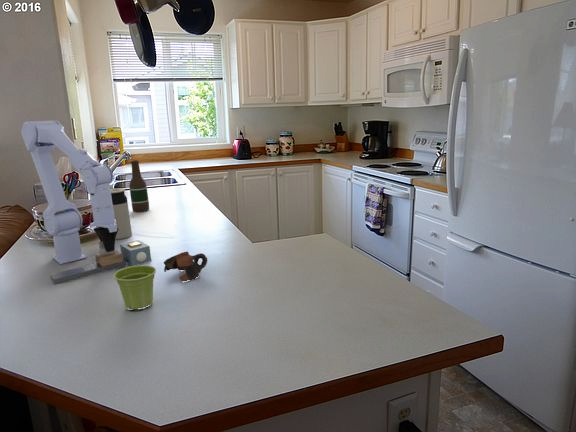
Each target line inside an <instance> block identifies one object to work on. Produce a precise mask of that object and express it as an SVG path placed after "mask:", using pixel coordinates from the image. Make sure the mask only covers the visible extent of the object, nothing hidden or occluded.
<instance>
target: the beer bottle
mask: <svg viewBox="0 0 576 432" xmlns="http://www.w3.org/2000/svg"><path fill="white" fill-rule="evenodd" d="M130 164H131V179H130V181H129V185H128V186H129V193H130V202H131V209H132V211H133V212H134V213H144V212H147V211H149V210H150V201H149V193H148V187H147V182H146V180H145V179H144V178H143V176H142V174H141V169H140V168H141V167H140V161H139V160H137V159H133V160H131V161H130Z"/></svg>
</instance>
